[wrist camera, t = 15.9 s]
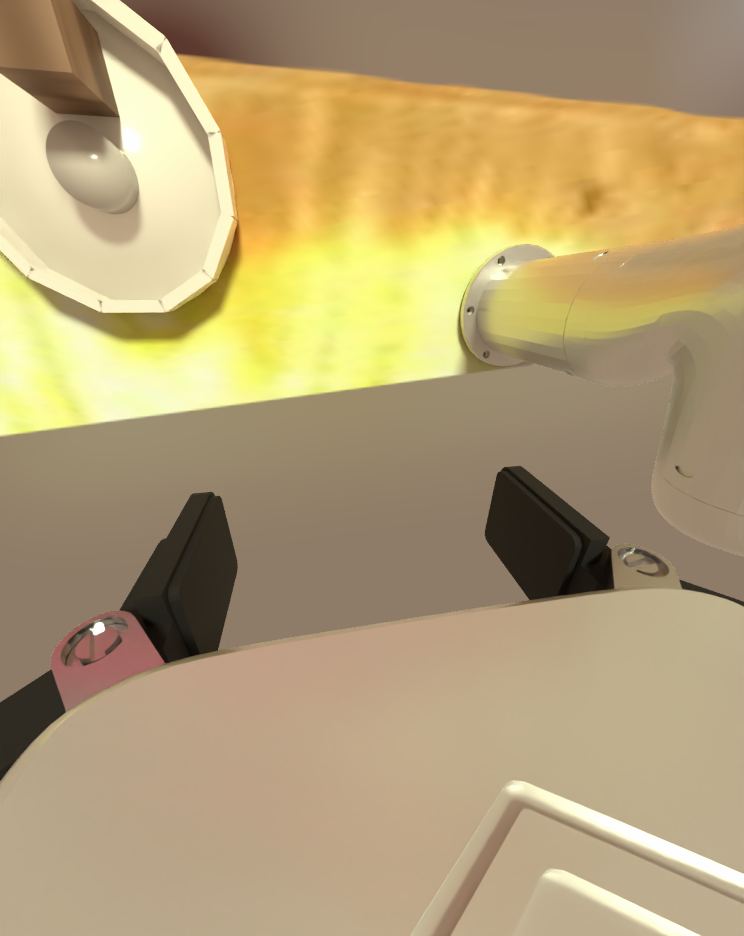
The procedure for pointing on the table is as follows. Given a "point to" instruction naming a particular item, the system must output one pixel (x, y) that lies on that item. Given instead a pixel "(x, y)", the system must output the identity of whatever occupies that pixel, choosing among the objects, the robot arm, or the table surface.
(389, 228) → the table surface
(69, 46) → the wooden brick
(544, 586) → the robot arm
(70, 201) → the dish
